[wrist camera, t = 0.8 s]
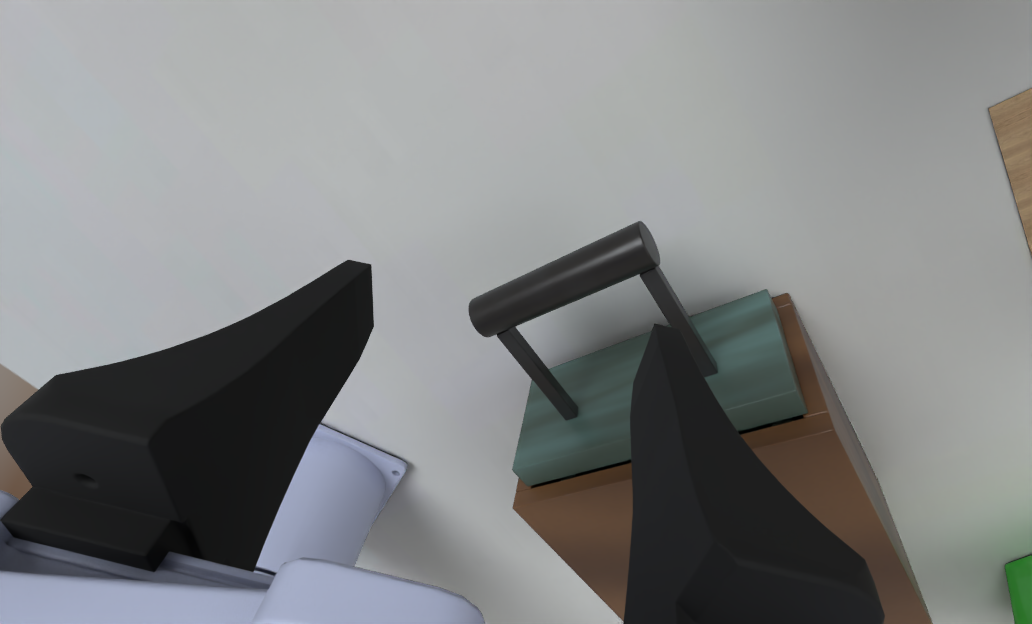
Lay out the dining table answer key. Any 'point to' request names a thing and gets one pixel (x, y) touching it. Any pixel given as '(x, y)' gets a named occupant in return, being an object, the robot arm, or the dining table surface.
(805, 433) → the cabinet
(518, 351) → the green drawer
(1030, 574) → the fruit basket
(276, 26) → the dining table surface
